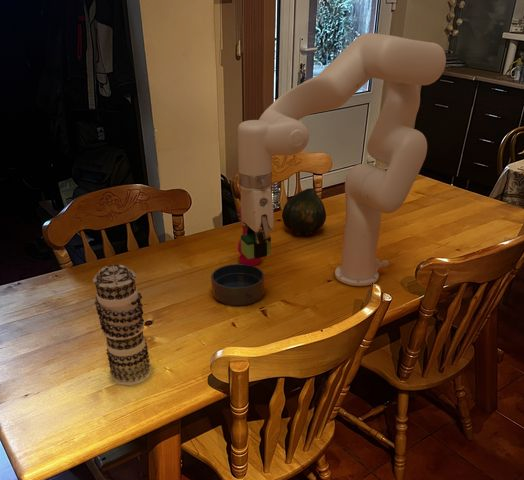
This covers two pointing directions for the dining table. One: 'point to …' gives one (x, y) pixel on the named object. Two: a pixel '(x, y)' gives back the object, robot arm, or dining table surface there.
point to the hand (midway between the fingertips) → (256, 252)
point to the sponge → (252, 245)
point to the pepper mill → (242, 258)
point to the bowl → (237, 284)
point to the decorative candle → (122, 324)
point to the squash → (304, 213)
